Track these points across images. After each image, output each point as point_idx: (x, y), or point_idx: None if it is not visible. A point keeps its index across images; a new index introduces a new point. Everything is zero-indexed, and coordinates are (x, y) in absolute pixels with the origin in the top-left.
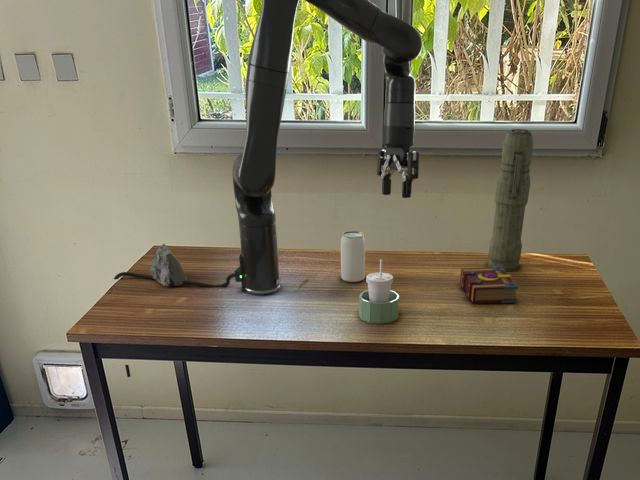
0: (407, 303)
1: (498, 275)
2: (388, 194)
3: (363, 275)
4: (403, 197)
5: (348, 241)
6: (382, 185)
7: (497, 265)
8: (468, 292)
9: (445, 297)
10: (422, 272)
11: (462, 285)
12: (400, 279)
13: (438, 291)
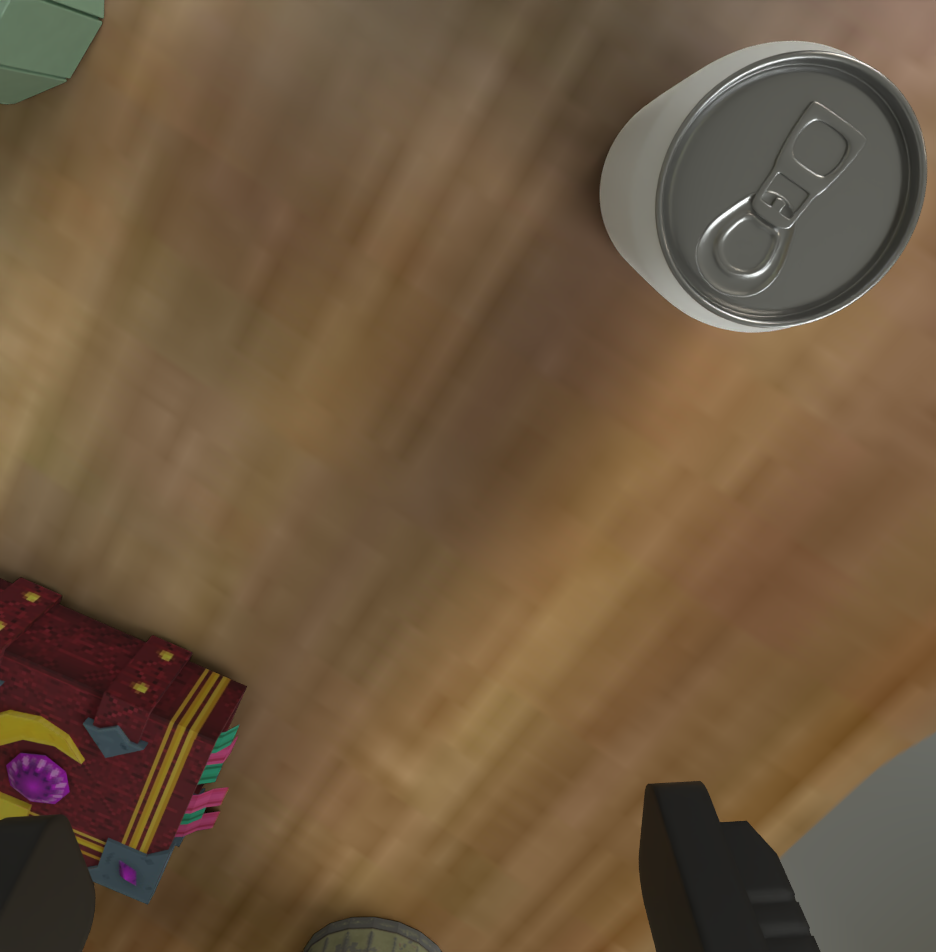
0: (106, 260)
1: (16, 807)
2: (643, 850)
3: (611, 239)
4: (31, 816)
5: (703, 77)
6: (751, 923)
7: (336, 943)
8: (25, 604)
9: (111, 506)
10: (517, 636)
11: (167, 656)
12: (487, 464)
13: (207, 529)
